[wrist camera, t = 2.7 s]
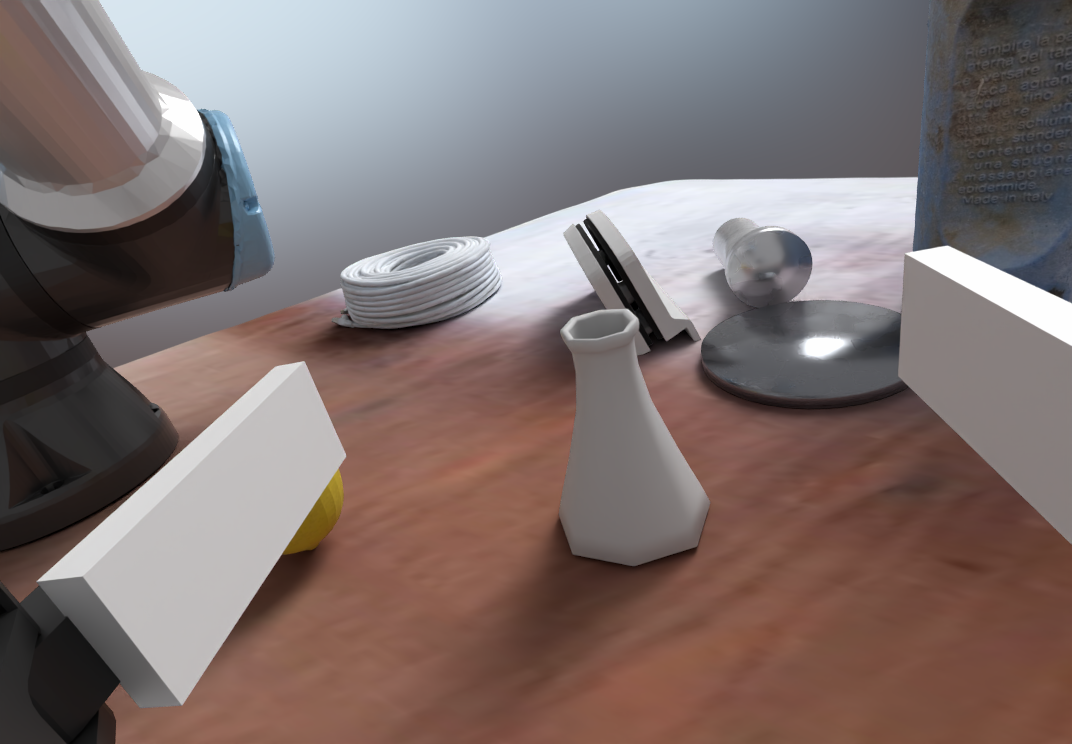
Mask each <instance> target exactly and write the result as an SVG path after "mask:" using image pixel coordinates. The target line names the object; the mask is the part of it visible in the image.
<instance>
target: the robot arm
mask: <svg viewBox="0 0 1072 744" xmlns="http://www.w3.org/2000/svg"><path fill="white" fill-rule="evenodd" d="M274 259H275V257H274V250H273V246H272V242H271V238H270V235H269V231H268V228H267V225H266V221H265V218H264V215H263V212H262V209H261V206H260V204H259V202H258V197H257V194H256V191H255V188H254V184H253V181H252V178H251V175H250V172H249V169H248V166H247V163H246V160H245V157H244V154H243V152H242V149H241V146H240V143H239V140H238V138H237V135H236V133H235V130H234V127H233V125H232V123H231V121H230V119H229V118H228V116H227V115H226V114H225V113H223V112H221V111H217V110H213V111H208V110H206V109H201V110H196V109H195V107H194V106H193V104H192V103H191V102H190V101H189V99H188V98H187V97H186V95H185V94H184V93H182V92H181V91H180V90H179V89H178V88H177V87H175V86H174V85H172V84H171V83H169V82H168V81H166V80H164V79H162V78H160V77H158V76H156V75H154V74H151V73H148V72H145V71H143V70H141V69H140V67H139V66H138V64H137V62H136V61H135V59H134V57H133V56H132V54H131V53H130V51H129V49H128V48H127V46H126V44H125V43H124V41H123V40H122V38H121V36H120V35H119V33H118V32H117V30H116V28H115V27H114V25H113V23H112V22H111V20H110V19H109V17H108V15H107V14H106V12H105V10H104V9H103V7H102V5H101V4H100V2H99V1H98V0H0V551H1V550H5V549H8V548H12V547H15V546H18V545H21V544H24V543H27V542H30V541H32V540H35V539H38V538H40V537H43V536H45V535H48V534H50V533H52V532H55V531H57V530H59V529H61V528H64V527H66V526H68V525H70V524H72V523H74V522H76V521H78V520H80V519H82V518H84V517H86V516H88V515H90V514H92V513H93V512H95V511H97V510H99V509H101V508H102V507H104V506H106V505H108V504H109V503H111V502H112V501H114V500H116V499H117V498H119V497H120V496H122V495H124V494H125V493H126V492H128V491H129V490H131V489H132V488H134V487H135V486H137V485H138V484H139V483H141V482H142V481H143V480H145V479H146V478H147V477H148V476H149V475H151V474H152V473H153V472H154V471H155V470H156V469H158V468H159V467H160V466H161V465H162V464H163V463H164V462H165V461H166V460H167V458H168V457H169V456H170V455H171V453H172V452H173V451H174V449H175V447H176V445H177V443H178V438H179V436H178V433H177V431H176V429H175V428H174V426H173V424H172V423H171V421H170V419H169V418H168V416H167V414H166V413H165V412H164V411H163V410H162V409H161V408H160V407H159V406H158V405H156V404H154V403H151V402H150V401H149V400H148V399H147V398H146V397H145V396H144V395H143V394H142V393H141V392H140V391H139V390H138V389H137V388H136V387H134V386H133V385H132V384H131V383H130V382H129V381H127V380H126V379H125V378H124V377H123V376H121V375H120V374H119V373H118V372H116V371H115V370H114V369H113V368H111V367H110V366H109V365H108V364H107V363H106V362H105V361H104V360H103V359H102V357H101V356H100V354H99V353H98V351H97V350H96V348H95V347H94V345H93V343H92V342H91V340H90V338H89V337H88V336H87V333H86V331H89V330H92V329H96V328H100V327H102V326H106V325H109V324H112V323H115V322H119V321H122V320H125V319H128V318H132V317H135V316H139V315H142V314H145V313H149V312H152V311H155V310H159V309H162V308H166V307H169V306H172V305H176V304H179V303H183V302H186V301H190V300H194V299H197V298H200V297H204V296H207V295H211V294H214V293H217V292H221V291H225V292H226V291H231V290H233V289H234V288H236V287H237V285H240V284H243V283H246V282H249V281H251V280H254V279H257V278H260V277H262V276H264V275H266V274H267V273H268V272H269V271H270V269H271V268H272V266H273V264H274ZM898 376H899V377H900V378H901V379H902V380H903V381H904V382H905V383H906V384H907V385H908V386H909V387H910V388H911V389H912V390H913V391H914V392H915V393H916V394H917V395H918V396H919V397H920V398H921V399H922V400H923V401H924V402H925V403H926V404H927V405H928V406H929V407H930V408H931V409H933V410H934V411H935V412H936V413H937V414H938V415H939V416H940V417H941V418H942V419H943V420H944V421H945V422H946V423H947V424H948V425H949V426H950V427H951V428H952V429H953V430H954V431H955V432H956V433H957V434H958V435H959V436H960V437H961V438H962V439H963V440H964V441H965V442H967V443H968V444H969V445H970V446H971V447H972V448H973V449H974V450H975V451H976V452H977V453H978V454H979V455H980V456H981V457H982V458H983V459H984V460H985V461H986V462H987V463H988V464H989V465H990V466H991V467H992V468H993V469H994V470H995V471H996V472H997V473H998V474H999V475H1001V476H1002V477H1003V478H1004V479H1005V480H1006V481H1007V482H1008V483H1009V484H1010V485H1011V486H1012V487H1013V488H1014V489H1015V490H1016V491H1017V492H1018V493H1019V494H1020V495H1021V496H1022V497H1023V498H1024V499H1025V500H1026V501H1027V502H1028V503H1029V504H1030V505H1031V506H1032V507H1033V508H1035V509H1036V510H1037V511H1038V512H1039V513H1040V514H1041V515H1042V516H1043V517H1044V518H1045V519H1046V520H1047V521H1048V522H1049V523H1050V524H1051V525H1052V526H1053V527H1054V528H1055V529H1056V530H1057V531H1058V532H1059V533H1060V534H1061V535H1062V536H1063V537H1064V538H1065V539H1066V540H1068V541H1069V542H1070V543H1071V544H1072V303H1070V302H1068V301H1065V300H1063V299H1061V298H1059V297H1057V296H1055V295H1053V294H1050V293H1048V292H1046V291H1044V290H1042V289H1040V288H1038V287H1035V286H1033V285H1031V284H1029V283H1027V282H1025V281H1023V280H1020V279H1018V278H1016V277H1014V276H1012V275H1010V274H1008V273H1005V272H1003V271H1001V270H999V269H997V268H995V267H993V266H990V265H988V264H986V263H984V262H982V261H980V260H978V259H975V258H973V257H971V256H969V255H967V254H965V253H962V252H960V251H958V250H956V249H954V248H952V247H950V246H943V247H937V248H932V249H926V250H920V251H915V252H909V253H905V259H904V277H903V295H902V313H901V332H900V350H899V368H898ZM345 457H346V454H345V452H344V449H343V447H342V445H341V443H340V440H339V438H338V436H337V434H336V431H335V429H334V427H333V425H332V422H331V420H330V418H329V416H328V413H327V411H326V409H325V407H324V404H323V402H322V400H321V398H320V395H319V393H318V391H317V389H316V386H315V384H314V382H313V380H312V377H311V375H310V373H309V371H308V368H307V366H306V364H305V362H304V361H303V362H298V363H292V364H287V365H281V366H276V367H275V368H273V369H272V370H271V371H270V372H269V373H268V374H267V375H266V376H265V377H263V378H262V379H261V380H260V381H259V382H258V383H257V384H256V385H255V386H253V387H252V388H251V389H250V390H249V391H248V392H247V393H246V394H245V395H243V396H242V397H241V398H240V399H239V400H238V401H237V402H236V403H234V404H233V405H232V406H231V407H230V408H229V409H228V410H227V411H226V412H224V413H223V414H222V415H221V416H220V417H219V418H218V419H217V420H216V421H214V422H213V423H212V424H211V425H210V426H209V427H208V428H207V429H206V430H204V431H203V432H202V433H201V434H200V435H199V436H198V437H197V438H196V439H194V440H193V441H192V442H191V443H190V444H189V445H188V446H187V447H186V448H184V449H183V450H182V451H181V452H180V453H179V454H178V455H177V456H176V457H174V458H173V459H172V460H171V461H170V462H169V463H168V464H167V465H166V466H164V467H163V468H162V469H161V470H160V471H159V472H158V473H157V474H155V475H154V476H153V477H152V478H151V479H150V480H149V481H148V482H147V483H145V484H144V485H143V486H142V487H141V488H140V489H139V490H138V491H137V492H135V493H134V494H133V495H132V496H131V497H130V498H129V499H128V500H127V501H125V502H124V503H123V504H122V505H121V506H120V507H119V508H118V509H117V510H115V511H114V512H113V513H112V514H111V515H110V516H109V517H108V518H107V519H105V520H104V521H103V522H102V523H101V524H100V525H99V526H98V527H97V528H95V529H94V530H93V531H92V532H91V533H90V534H89V535H88V536H87V537H85V538H84V539H83V540H82V541H81V542H80V543H79V544H78V545H77V546H75V547H74V548H73V549H72V550H71V551H70V552H69V553H68V554H66V555H65V556H64V557H63V558H62V559H61V560H60V561H59V562H58V563H56V564H55V565H54V566H53V567H52V568H51V569H50V570H49V571H48V572H46V573H45V574H44V575H43V576H42V577H41V578H40V579H39V580H38V581H36V582H37V583H38V584H39V586H38V587H37V588H36V589H35V590H34V591H33V592H32V593H31V594H29V595H28V596H27V597H26V598H25V599H24V600H23V601H22V602H21V603H19V602H18V601H17V600H16V599H15V597H14V596H13V595H12V594H11V593H10V592H9V590H8V589H7V588H6V587H5V586H4V585H3V583H2V582H1V581H0V744H115V735H116V720H115V717H114V714H113V712H112V710H111V709H110V708H109V707H108V706H107V705H106V703H105V701H106V700H107V698H108V697H109V696H110V695H111V693H112V692H113V691H114V690H115V688H116V687H117V686H118V684H119V683H120V684H121V685H122V687H123V688H124V689H125V690H126V692H127V693H128V694H129V695H130V696H131V698H132V699H133V700H134V701H135V702H136V704H137V705H138V706H139V707H140V708H150V707H166V706H182V705H183V703H184V702H185V700H186V699H187V697H188V696H189V694H190V693H191V691H192V690H193V688H194V687H195V685H196V684H197V682H198V681H199V679H200V677H201V676H202V674H203V673H204V671H205V670H206V668H207V667H208V665H209V664H210V662H211V661H212V659H213V658H214V656H215V655H216V653H217V652H218V650H219V649H220V647H221V646H222V644H223V643H224V641H225V640H226V638H227V637H228V635H229V633H230V632H231V630H232V629H233V627H234V626H235V624H236V623H237V621H238V620H239V618H240V617H241V615H242V614H243V612H244V611H245V609H246V608H247V606H248V605H249V603H250V602H251V600H252V599H253V597H254V596H255V594H256V592H257V591H258V589H259V588H260V586H261V585H262V583H263V582H264V580H265V579H266V577H267V576H268V574H269V573H270V571H271V570H272V568H273V567H274V565H275V564H276V562H277V561H278V559H279V558H280V556H281V555H282V553H283V551H284V550H285V548H286V547H287V545H288V544H289V542H290V541H291V539H292V538H293V536H294V535H295V533H296V532H297V530H298V529H299V527H300V526H301V524H302V523H303V521H304V520H305V518H306V517H307V515H308V514H309V512H310V511H311V509H312V507H313V506H314V504H315V503H316V501H317V500H318V498H319V497H320V495H321V494H322V492H323V491H324V489H325V488H326V486H327V485H328V483H329V482H330V480H331V479H332V477H333V476H334V474H335V473H336V471H337V470H338V468H339V466H340V465H341V463H342V462H343V460H344V459H345Z"/></svg>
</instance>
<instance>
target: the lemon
mask: <svg viewBox="0 0 1072 744" xmlns="http://www.w3.org/2000/svg"><path fill="white" fill-rule="evenodd" d="M343 498H344V493H343V485H342V479H341V475H340V472H339V469H338V470H337V471H336V473H335V474H334V476H333V477H332V479H331V480H330V482H329V483H328V485H327V486H326V488H325V489H324V491H323V492H322V494H321V495H320V497H319V498H318V500H317V501H316V503H315V504H314V506H313V507H312V509H311V511H310V512H309V514H308V515H307V517H306V518H305V520H304V521H303V523H302V524H301V526H300V527H299V529H298V530H297V532H296V533H295V535H294V536H293V538H292V539H291V541H290V542H289V544H288V545H287V547H286V548H285V550H284V551H283V553H282V554H293V553H297V552H300V551H304V550H313V549H315V548H316V547H317V546H318V544H319V542H320V541H321V540H322V539H324V538H325V537H326V536H327V535H328V533H329V532H330V531H331V530H332V529H333V527H334V525H335V524H336V522H337V520H338V519H339V516H340V513H341V509H342V505H343Z"/></svg>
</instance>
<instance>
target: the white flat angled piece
mask: <svg viewBox="0 0 1072 744" xmlns="http://www.w3.org/2000/svg"><path fill="white" fill-rule="evenodd" d="M586 218H587V219H585V220H584V224H585V226H586V228H587V229H588V231H589V233H590V234H591V236H592V238H593V240H594V241H595V243H596V245H597V246H598V248H599V250H600V251H597V249H596V248H595V246H594V245H593V243H592V242H591V240H590V239H589V237H588V236H587V234H586V233H585V231H584V230H583V228H582V227H581V225H580V224H578V225H576V226H575V225H574V224H572V225H571V226H570V227H569V228H568V229H567V230H566V231H565V232H564V233H563V234H564V237H565V239H566V240H567V242H568V244H569V246H570V248H571V250H572V251H573V253H574V255H575V257H576V259H577V260H578V262H579V264H580V266H581V267H582V269H583V271H584V273H585V275H586V276H587V278H588V280H589V281H590V283H591V285H592V286H593V288H594V290H595V291H596V293H597V295H598V296H599V298H600V299H601V301H602V303H603V304H604V306H605V308H606V309H607V310H611V309H628V310H630V311H631V312H632V313H633V314H634V315H635V316H636V317H637V318H638V320H639V330H638V332H637V333H636V335H635V336H634V342H635V348H636V354H637V355H643V354H645V353H647V352H649V351H651V350H650V348H649V347H648V346H649V345H651V344H653V342H652V341H651V339H650V337H649V336H648V335H649V334H650V333H651V332H652V331H653V332H654V334H655V335H656V337H657V338H658V340H660V339H661V338H663V337H664V339H665V340H666V341H668V340H669V339H671V338H672V337H674V336H675V335H676V334H678V333H679V332H681V331H682V330H684V329H685V330H686V332H687V333H688V334H689V335H690V336H691V338H692V339H693V340H694V341H698V340H701V338H700V336H699V334H698V332H697V331H696V329H695V327H694V325H693V323H692V322H691V320H690V319H689V318H688V317H687V316H686V315H685V314H684V313H683V311H682V310H681V309H680V308H679V307H678V306H677V305H676V304H675V302H674V301H673V300H672V299H671V298H670V297H669V296H668V295H667V293H666V292H665V291H664V290H663V289H662V288H661V287H660V286H659V284H658V283H657V282H656V281H655V280H654V279H653V278H652V277H651V275H650V274H649V273H648V272H647V271H646V270H645V269H644V268H643V266H642V265H641V263H640V262H639V260H638V258H637V257H636V255H635V253H634V252H633V250H632V249H631V247H630V246H629V245H628V243H627V242H626V240H625V239H624V238H623V236H622V235H621V234H620V232H619V231H618V230H617V228H616V227H615V226H614V224H613V223H612V222H611V221H610V219H609V218H608V217H607V216H606V215H605V214H604V213H603V212H602V211H601V210H598V211H595V212H593V213H591V214H588V215H586ZM607 265H609V267H610V269H611V270H612V272H613V274H614V275H615V277H616V279H617V280H618V281H619V282H620V281H622V280H623V281H622V282H620V283H617V282H616V280H615V278H614V277H613V275H612V273H611V272H610V270H609V268H608V267H607ZM634 301H635V302H636V303H637V305H638V307H639V309H637V310H636V311H634V310H633V309H632V307H631V305H630V304H631V303H632V302H634Z"/></svg>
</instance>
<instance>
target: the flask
mask: <svg viewBox="0 0 1072 744" xmlns="http://www.w3.org/2000/svg"><path fill="white" fill-rule="evenodd" d="M638 330H639V320H638V318H637V317H636V316H635V315H634V314H633V313H632V312H631V311H630V310H628V309H611V310H598V311H594V312H590V313H587V314H583V315H580V316H576V317H572V318H571V319H570V320H569V321H568V322H567V323H566V325H565V326H564V327H563V328H562V329H561V330H560V333H561V337H562V339H563V341H564V342H565V344H566V345H567V347H568V348H569V350H570V351H571V352H572V356H573V361H574V366H575V371H576V415H575V422H574V428H573V435H572V442H571V448H570V455H569V461H568V466H567V471H566V476H565V481H564V486H563V491H562V497H561V502H560V509H559V517H560V520H561V523H562V525H563V528H564V531H565V534H566V537H567V540H568V543H569V546H570V548H571V551H572V554H573V555H578V556H583V557H588V558H594V559H599V560H604V561H609V562H614V563H619V564H625V565H630V566H637V565H640V564H643V563H646V562H649V561H652V560H656V559H659V558H662V557H665V556H668V555H672V554H675V553H678V552H681V551H684V550H687V549H691V548H694V547H697V546H698V542H699V539H700V536H701V532H702V529H703V526H704V522H705V519H706V516H707V512H708V509H709V505H710V501H709V499H708V497H707V495H706V493H705V492H704V490H703V488H702V486H701V485H700V483H699V481H698V480H697V478H696V477H695V475H694V473H693V472H692V470H691V468H690V467H689V465H688V464H687V462H686V460H685V459H684V457H683V455H682V454H681V452H680V450H679V449H678V447H677V445H676V444H675V442H674V440H673V438H672V436H671V435H670V433H669V431H668V429H667V427H666V426H665V424H664V422H663V420H662V418H661V417H660V415H659V413H658V411H657V409H656V408H655V406H654V404H653V402H652V400H651V398H650V395H649V392H648V390H647V387H646V384H645V381H644V379H643V376H642V373H641V370H640V368H639V365H638V359H637V354H636V348H635V342H634V336H635V335H636V333H637V332H638Z"/></svg>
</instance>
